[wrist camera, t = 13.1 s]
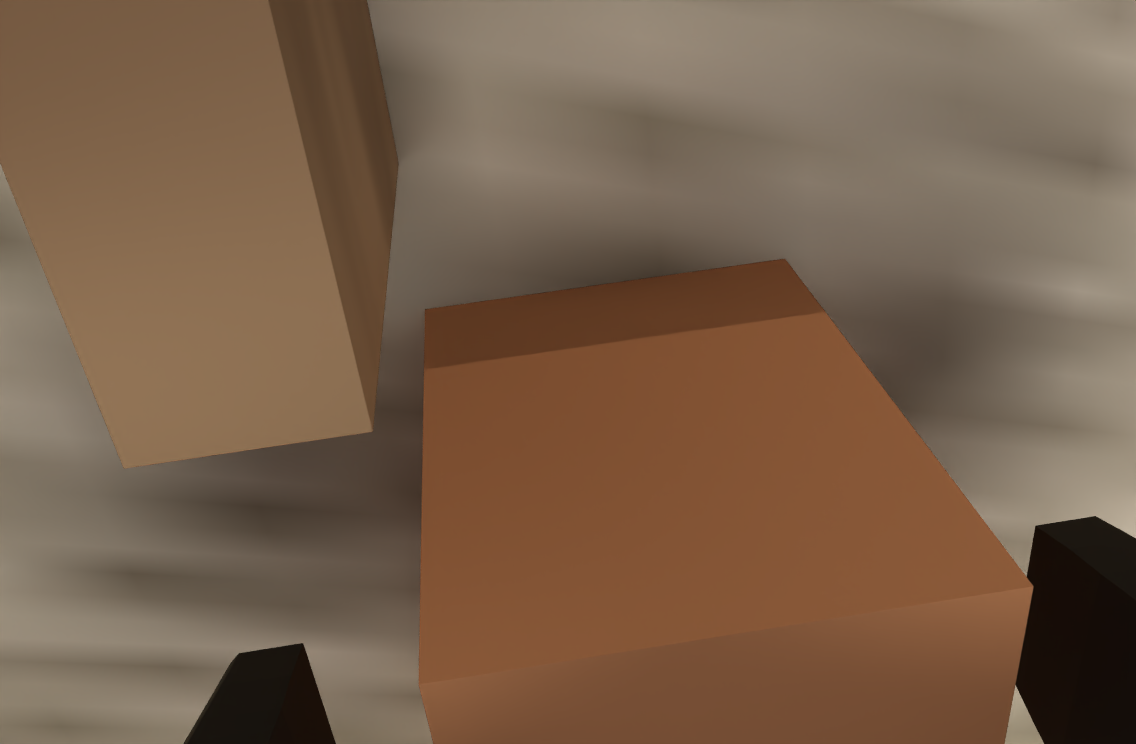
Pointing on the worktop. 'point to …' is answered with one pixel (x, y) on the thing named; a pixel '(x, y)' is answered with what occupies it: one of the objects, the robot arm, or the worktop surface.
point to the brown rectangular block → (207, 211)
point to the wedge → (695, 530)
